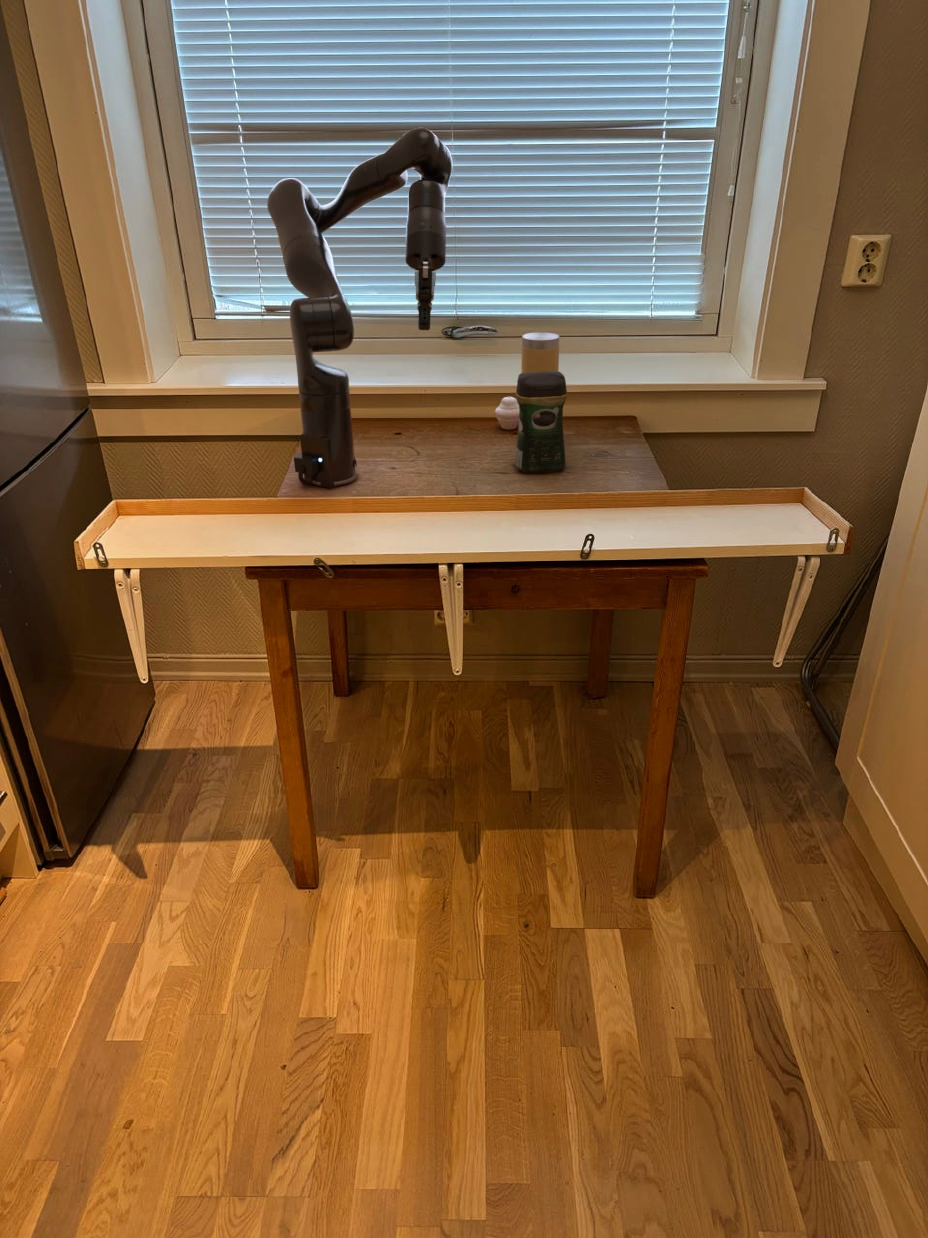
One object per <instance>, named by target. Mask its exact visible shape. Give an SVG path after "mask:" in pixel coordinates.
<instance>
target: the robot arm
mask: <svg viewBox="0 0 928 1238" xmlns="http://www.w3.org/2000/svg"><path fill="white" fill-rule="evenodd" d="M410 169H413V170H414V171H415V172H416V173H417V174H418V175H419V178H420V179H418V180H414V182H413V183H411V184H410V186H409V189H408V192H407V193H408V194H407V195H408V196H407V218H406V223H405V224H406V225H405V257H404V258H405V263H406V265H407V266H408V267H409V268H411V269H412V270H414V286H415V300H416V301H417V305H416V307H417V308H416V309H417V312H418V321H417V323H418V326H417V327H418V330H420V331H430V330H431V312H432V309H433V307H432V306H433V301H434V299H435V287H436V279H437V270H441V268H443V267H444V266H445V265H446V258H447V257H446V253H447V251H446V250H447V249H446V248H447V226H446V194H447V191H448V189H449V184H450V181H451V177H452V173H453V157H452V155H451V151H450V150H449V148H448V147H447V145H445V143H444V142H443V141H441V140H440V138H438V136H437V135H436V134H435V133H434V132H432V131H431V130H430V129H428V128H427V127H416V128H412V129H409V130H408V131H406V132H405V133H404V134H403V135H401V137H399V139H398V140H396V141H395V142H394V143H393V144H391V146H389V147H388V149H387V150H385V151H384V152H382V153H379V154H377V155H375V156H373V157H371V158H368V159H366V160H365V161H363V162H360V163H359V164H358V165H356V166H355V167H354V168H353V169H352V170H351V171H350V173H349V174H348V176H347V178H346V179H345V181H344V183H343V185H342V187H341V188H340V189H341V190H340V191H339V193H338V194H337V196H336V197H335V199H333V200H332V201H331V202H329V203H327V204H324V205H321V203H319V201H318V200H317V198H316V197H315V196H314V194H313V193H312V192H311V190H310V189H309V188H308V187H307V185H305V184H304V183H303V182H302V181H301V180H299V179H297V178H294V177H288V178H283V179H281V180H279V181H278V182H277V183H276V184H275V185H274V186H273V187H272V188H271V190H270V192H269V195H268V198H267V202H266V203H267V205H266V206H267V212H268V214H269V216H270V218H271V220H272V222H273V223H274V226H275V230H276V232H277V233H276V234H277V237H278V242H279V247H280V250H281V254H282V255H281V256H282V261H283V265H284V269H285V273H286V277H287V279H288V281H289V282H290V284H291V285H292V286H293V287H294V288H295V290H297V291H298V292H299V293H301V294H302V295H304V296H305V297H302V298H301V297H300V298H295V299H293V300H292V302H291V303H290V306H289V324H290V331H291V338H292V343H293V344H292V345H293V350H294V356H295V365H296V366H295V367H296V376H297V388H298V395H299V397H298V398H299V408H300V416H301V427H302V433H300V435H299V440H300V449H301V453H299V454H298V455H296V456H294V457H293V464H294V473H297V475H298V476H297V477H298V480H299V482H300V483H301V484H302V486H305V487H306V486H307V485H313V486H317V487H322V488H326V489H327V488H328V489H331V488H334V487H338V486H344V485H347V484H350V483H352V482H354V481H355V480H356V479H357V471H356V469H357V468H358V465H357V459H356V457H355V446H354V432H353V419H352V417H353V416H352V404H351V393H350V392H351V391H350V378H349V375H348V372H346V371H345V370H344V369H343V370H342V369H341V368H337V367H334V366H330V365H328V364H325V363H323V362H321V361H319V360H317V359H316V358H315V357H314V353H327V352H339V351H343V350H347V349H348V348H350V347H351V345H352V343H353V341H354V337H355V324H354V318H353V314H352V311H351V307H350V306H349V303H348V300H347V298H346V295H345V293H344V291H343V289H342V286H341V284H340V281H339V278H338V274H337V271H336V267H335V262H334V259H333V255H332V251H331V249H330V246H329V244H328V242H327V240H326V239H325V237H324V235H323V233H324V232H326V231H328V230H329V229H330V228H332V227H334V226H335V225H337V224H339V223H340V222H342V221H343V220H344V219H346V218H347V217H349V216H350V215H352V214H353V213H354V212H356V211H358V210H359V209H361V208H362V207H364V206H366V205H368V204H369V203H372V202H374V201H376V200H378V199H381V198H383V197H386V196H388V195H390V194H392V193H395V192H397V191H399V190H401V189H403V188H404V187H405V186H406V185H407V183H408V178H409V175H408V170H410Z"/></svg>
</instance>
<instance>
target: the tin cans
mask: <svg viewBox="0 0 928 1238" xmlns="http://www.w3.org/2000/svg"><path fill="white" fill-rule="evenodd" d="M559 363H560V335H559V334H557V333H553V332H544V331H543V332H542V331H541V332H539V331H538V332H529V333H528V332H527V333H525V334H523V335H521V364H520V365H521V370H520V374H521V373H536V372H559V366H560V364H559Z"/></svg>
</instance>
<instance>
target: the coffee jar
mask: <svg viewBox="0 0 928 1238" xmlns="http://www.w3.org/2000/svg"><path fill="white" fill-rule="evenodd" d="M567 391H568V390H567V382H566V377H565V375H564V374H563V373H562V372H560V371H558V372H536V373H521V372H520V373H519V374H518V376H517V384H516V391H515V399H516V400H517V403H518V405H519V423H518V431H517V441H516V448H515V449H516V450H515V466H516V468H517V469H518V470H519V471H521V472H524V473H526V474H542V473H553V472H559V471H562V469H564V468H565V467H566V451H565V438H564V437H565V435H564V423H563V421H564V419H563V417H564V416H563V414H564V413H563V412H564V406H565V405H564V404H565V403H566V400H567V397H568V392H567Z"/></svg>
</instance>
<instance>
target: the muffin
mask: <svg viewBox="0 0 928 1238" xmlns="http://www.w3.org/2000/svg"><path fill="white" fill-rule="evenodd" d="M494 415H495V416H496V417H495V418H496V421H498V423H499V425H500V427H501V429H503V430H509V431H510V430H515V429H517V427H518V426H519V404H518V402H517V399H516V397H513V396H506V397H503V398H501V400H500V403H499V405H498V406H497V407H496V408H495V409H494Z"/></svg>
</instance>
